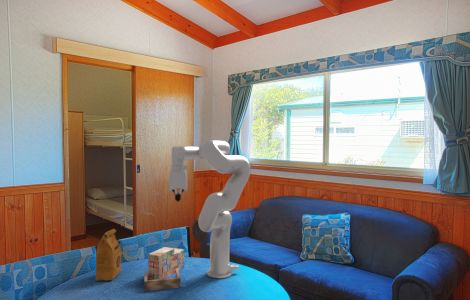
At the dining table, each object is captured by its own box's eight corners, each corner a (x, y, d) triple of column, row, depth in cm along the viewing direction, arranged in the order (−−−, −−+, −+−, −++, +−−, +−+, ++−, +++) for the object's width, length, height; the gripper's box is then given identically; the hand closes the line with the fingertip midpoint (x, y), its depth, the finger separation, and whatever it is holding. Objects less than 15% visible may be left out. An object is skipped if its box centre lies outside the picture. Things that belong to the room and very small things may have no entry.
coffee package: (124, 272, 165) (125, 228, 165) (112, 282, 152) (113, 234, 152) (105, 271, 166) (105, 227, 166) (91, 281, 153) (92, 233, 153)
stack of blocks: (174, 265, 176) (174, 242, 176) (184, 267, 174) (184, 243, 174) (147, 279, 157) (148, 253, 157) (158, 282, 154) (159, 255, 154)
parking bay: (177, 276, 160) (177, 268, 160) (180, 287, 148) (180, 278, 148) (144, 279, 156) (144, 271, 156) (144, 290, 144) (144, 281, 144)
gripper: (190, 168, 193) (190, 199, 193) (164, 168, 189) (163, 200, 189) (192, 168, 185) (192, 201, 185) (165, 168, 182) (164, 202, 182)
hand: (177, 201), depth 187 cm, fingers closed
